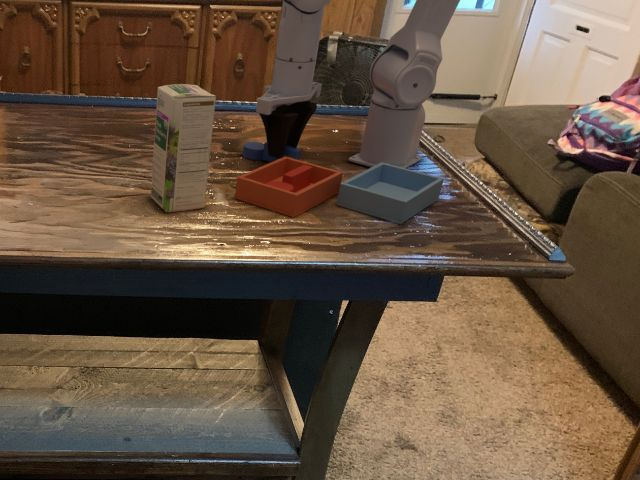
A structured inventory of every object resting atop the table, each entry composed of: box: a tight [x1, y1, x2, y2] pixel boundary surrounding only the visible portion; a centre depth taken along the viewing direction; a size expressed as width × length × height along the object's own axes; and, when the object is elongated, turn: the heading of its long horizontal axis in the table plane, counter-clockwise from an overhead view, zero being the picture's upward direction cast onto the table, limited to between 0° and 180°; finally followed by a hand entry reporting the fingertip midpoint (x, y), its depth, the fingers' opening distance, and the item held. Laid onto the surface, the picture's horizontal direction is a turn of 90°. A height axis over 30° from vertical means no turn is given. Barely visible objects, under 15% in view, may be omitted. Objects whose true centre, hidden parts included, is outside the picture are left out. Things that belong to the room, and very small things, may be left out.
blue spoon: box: [241, 141, 302, 163], centre depth 115 cm, size 9×4×3 cm, turn 49°
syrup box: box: [150, 83, 217, 213], centre depth 96 cm, size 6×6×14 cm
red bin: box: [234, 156, 344, 218], centre depth 103 cm, size 12×9×3 cm
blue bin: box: [336, 162, 445, 225], centre depth 102 cm, size 12×9×3 cm
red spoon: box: [266, 165, 313, 193], centre depth 103 cm, size 9×4×3 cm, turn 139°
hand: (281, 154), depth 114 cm, fingers open, 3 cm apart
